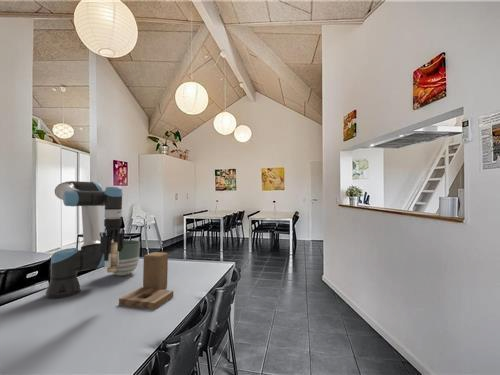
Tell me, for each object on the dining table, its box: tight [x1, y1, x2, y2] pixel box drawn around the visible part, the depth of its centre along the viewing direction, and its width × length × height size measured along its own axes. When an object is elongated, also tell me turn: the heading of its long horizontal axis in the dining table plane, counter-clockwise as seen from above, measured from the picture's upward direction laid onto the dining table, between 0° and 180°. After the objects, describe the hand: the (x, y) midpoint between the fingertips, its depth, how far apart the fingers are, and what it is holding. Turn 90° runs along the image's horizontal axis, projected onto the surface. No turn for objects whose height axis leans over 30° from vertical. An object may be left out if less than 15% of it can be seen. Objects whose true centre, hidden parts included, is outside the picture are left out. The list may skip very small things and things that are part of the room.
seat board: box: [118, 286, 174, 310], centre depth 128 cm, size 20×16×3 cm
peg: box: [106, 241, 118, 274], centre depth 124 cm, size 5×5×14 cm
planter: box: [111, 239, 141, 277], centre depth 172 cm, size 20×20×21 cm
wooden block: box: [142, 251, 169, 290], centre depth 144 cm, size 10×10×20 cm
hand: (111, 265), depth 124 cm, fingers closed on peg, 4 cm apart
